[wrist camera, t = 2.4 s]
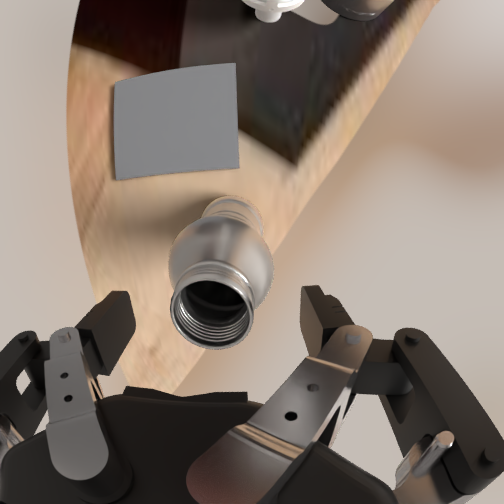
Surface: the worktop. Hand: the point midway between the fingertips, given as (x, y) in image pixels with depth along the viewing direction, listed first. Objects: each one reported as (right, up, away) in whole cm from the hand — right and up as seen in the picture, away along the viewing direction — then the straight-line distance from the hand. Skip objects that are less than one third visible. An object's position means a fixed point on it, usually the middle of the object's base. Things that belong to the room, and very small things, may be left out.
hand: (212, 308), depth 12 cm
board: (-7, +17, +15) cm, 23 cm away
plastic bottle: (0, +6, +19) cm, 20 cm away
